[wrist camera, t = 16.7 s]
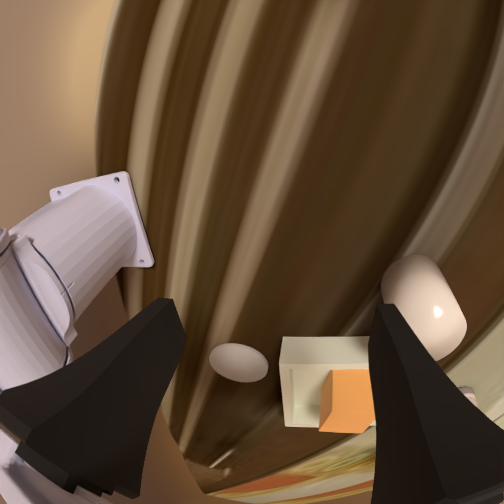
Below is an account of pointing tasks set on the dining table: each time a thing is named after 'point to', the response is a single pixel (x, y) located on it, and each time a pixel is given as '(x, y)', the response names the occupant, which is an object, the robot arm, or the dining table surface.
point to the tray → (315, 372)
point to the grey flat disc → (238, 362)
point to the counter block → (346, 402)
